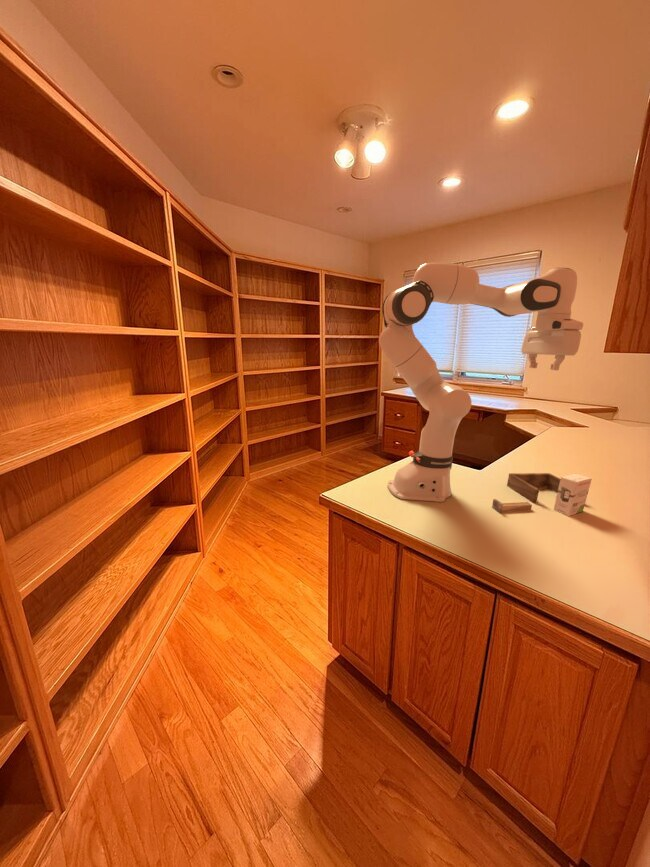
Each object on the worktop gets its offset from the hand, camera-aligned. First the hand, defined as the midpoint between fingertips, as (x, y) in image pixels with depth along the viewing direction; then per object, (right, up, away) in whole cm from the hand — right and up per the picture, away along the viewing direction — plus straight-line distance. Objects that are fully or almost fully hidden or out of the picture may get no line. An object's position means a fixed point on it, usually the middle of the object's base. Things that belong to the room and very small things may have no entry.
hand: (543, 369), depth 107 cm
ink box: (+8, -47, 0) cm, 47 cm away
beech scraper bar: (-11, -46, -1) cm, 47 cm away
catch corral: (+7, -43, +11) cm, 45 cm away
